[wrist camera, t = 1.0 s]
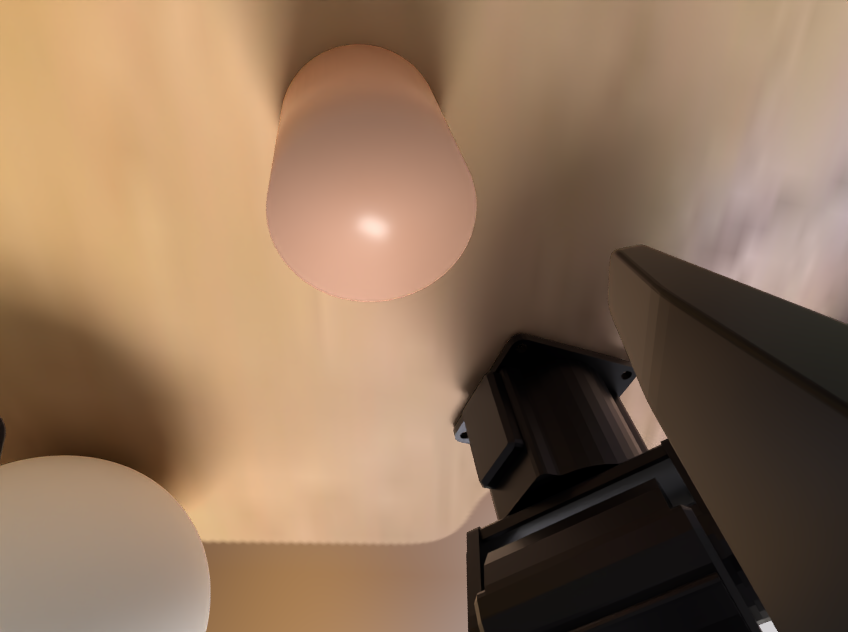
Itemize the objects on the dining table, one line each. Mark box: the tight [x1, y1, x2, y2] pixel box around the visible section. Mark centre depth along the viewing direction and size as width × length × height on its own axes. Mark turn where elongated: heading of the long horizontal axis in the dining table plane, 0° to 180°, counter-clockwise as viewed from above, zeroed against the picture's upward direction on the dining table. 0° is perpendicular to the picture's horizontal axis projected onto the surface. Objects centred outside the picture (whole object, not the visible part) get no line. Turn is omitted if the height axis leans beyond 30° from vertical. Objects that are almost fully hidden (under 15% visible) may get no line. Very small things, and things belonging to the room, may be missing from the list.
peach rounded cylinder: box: [266, 44, 477, 302], centre depth 17 cm, size 5×5×6 cm
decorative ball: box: [0, 455, 210, 632], centre depth 22 cm, size 12×12×12 cm
